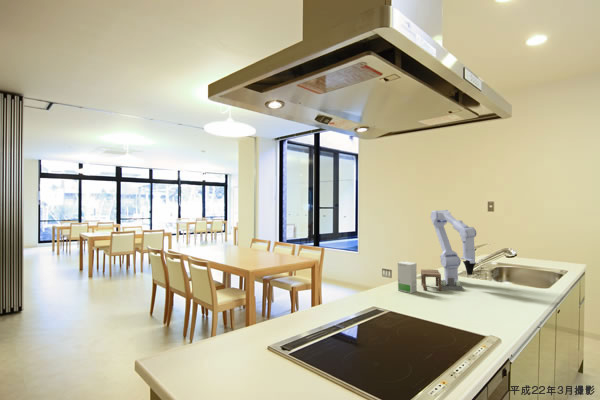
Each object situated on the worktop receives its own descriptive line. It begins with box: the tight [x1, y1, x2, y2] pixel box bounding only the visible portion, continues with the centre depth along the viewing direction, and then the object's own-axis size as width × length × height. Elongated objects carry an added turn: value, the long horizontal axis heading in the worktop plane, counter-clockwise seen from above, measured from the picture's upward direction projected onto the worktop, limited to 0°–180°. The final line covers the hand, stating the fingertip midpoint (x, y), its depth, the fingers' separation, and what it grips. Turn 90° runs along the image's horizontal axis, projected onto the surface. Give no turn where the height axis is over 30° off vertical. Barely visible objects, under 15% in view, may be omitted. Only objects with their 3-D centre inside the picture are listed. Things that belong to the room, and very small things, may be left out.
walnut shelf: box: [420, 269, 442, 292], centre depth 179 cm, size 12×9×9 cm
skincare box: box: [397, 260, 418, 294], centre depth 175 cm, size 8×7×16 cm
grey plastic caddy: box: [441, 277, 464, 291], centre depth 176 cm, size 5×11×6 cm, turn 74°
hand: (469, 274), depth 174 cm, fingers closed
